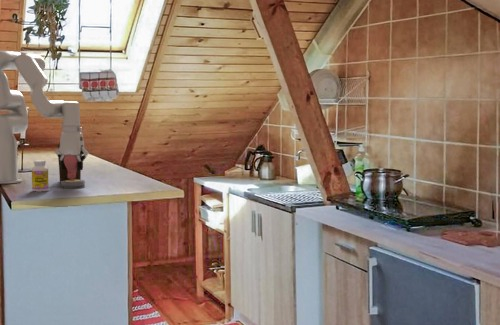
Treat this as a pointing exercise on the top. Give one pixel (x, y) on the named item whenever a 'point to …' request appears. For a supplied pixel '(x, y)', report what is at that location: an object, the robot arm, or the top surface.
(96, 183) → the top surface
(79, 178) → the olive oil
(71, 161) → the light bulb
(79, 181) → the socket base
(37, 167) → the supplement bottle
